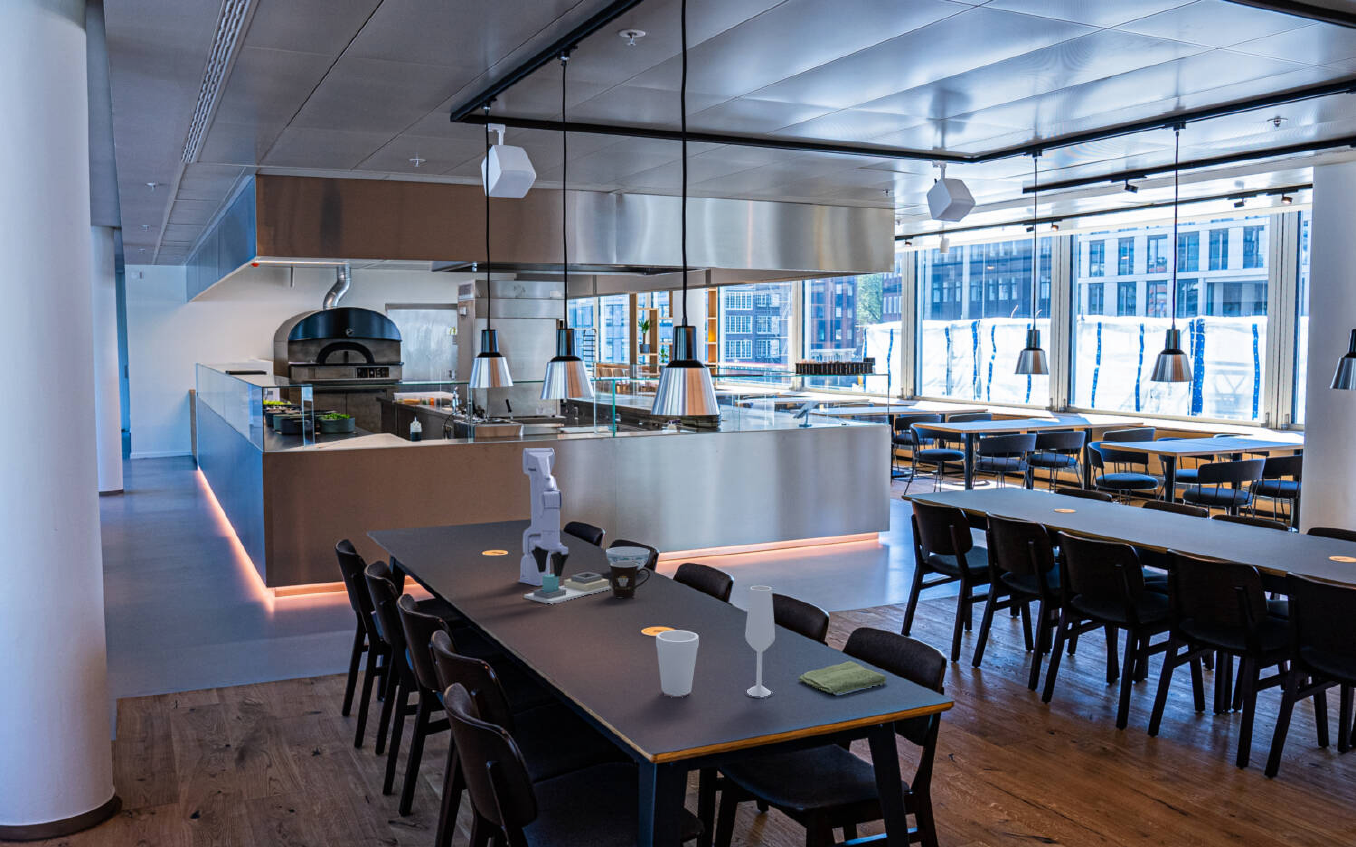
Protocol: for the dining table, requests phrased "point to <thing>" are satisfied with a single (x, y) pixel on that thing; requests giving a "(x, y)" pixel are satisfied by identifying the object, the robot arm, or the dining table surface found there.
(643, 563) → the chinaware
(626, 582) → the coffee mug
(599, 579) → the panel
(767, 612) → the champagne flute
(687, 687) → the foam cup
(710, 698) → the dining table surface
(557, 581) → the plug
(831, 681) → the washcloth
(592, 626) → the dining table surface
